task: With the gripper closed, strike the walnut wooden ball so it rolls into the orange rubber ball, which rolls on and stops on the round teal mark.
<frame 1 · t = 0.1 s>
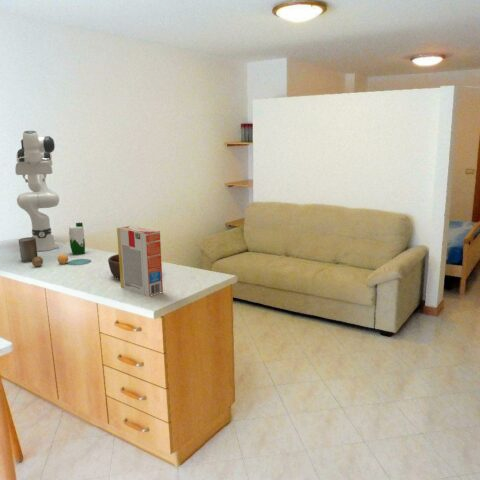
hand: (35, 182, 274), 48 cm above the counter, tool pointing down, fingers open, 8 cm apart
teal mark: (79, 262, 276), on the counter
cereal box: (141, 290, 224), on the counter
orange ball: (63, 259, 272), on the counter
milk carton: (78, 253, 299), on the counter
walnut ball: (37, 261, 267), on the counter
wooden bowl: (133, 275, 248), on the counter
pillar candle: (29, 260, 282), on the counter
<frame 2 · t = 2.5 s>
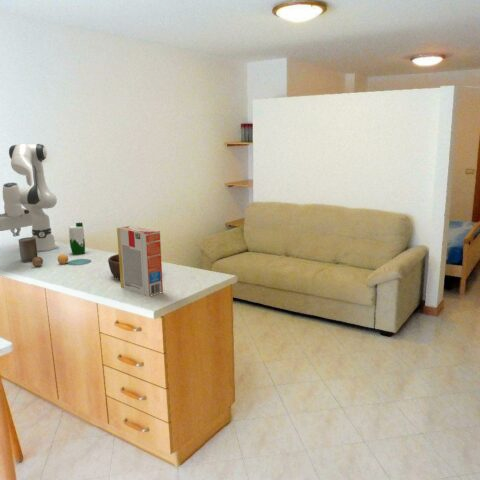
hand: (16, 236, 260), 19 cm above the counter, tool pointing down, fingers closed
nothing on the counter moved.
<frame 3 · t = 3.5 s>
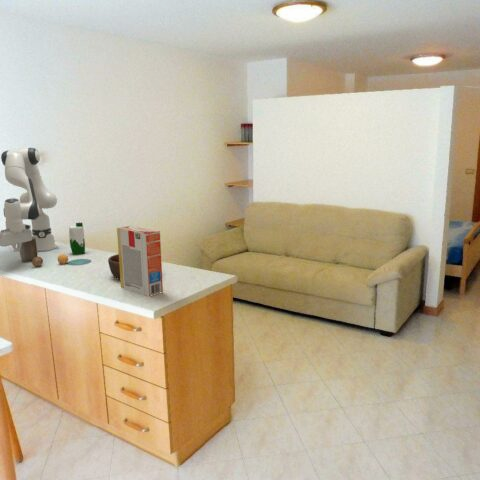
hand: (17, 251, 262), 10 cm above the counter, tool pointing down, fingers closed
nothing on the counter moved.
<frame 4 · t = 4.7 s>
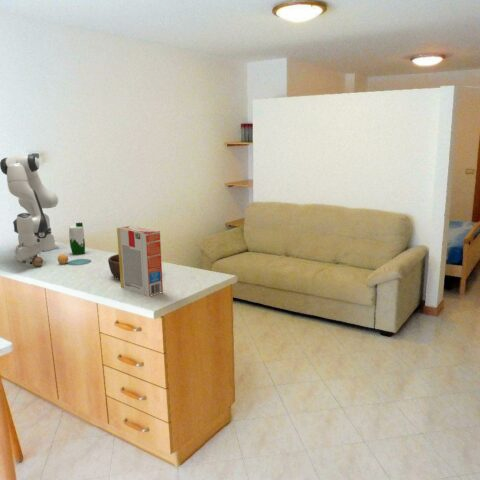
hand: (29, 264, 266), 1 cm above the counter, tool pointing down, fingers closed
walnut ball: (37, 261, 267), on the counter, touching gripper
everything else where it was.
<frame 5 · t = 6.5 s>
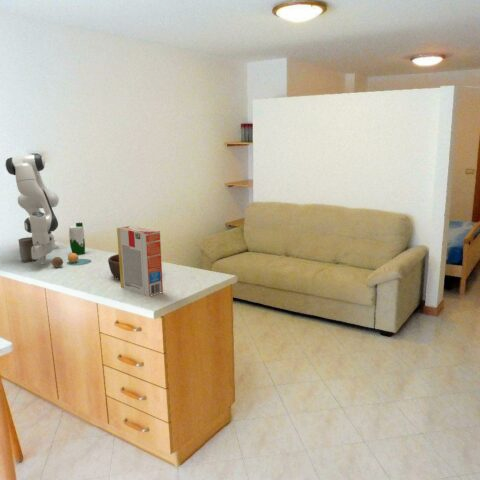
hand: (43, 263, 269), 2 cm above the counter, tool pointing down, fingers closed
orange ball: (73, 258, 274), on the counter
walnut ball: (57, 262, 265), on the counter
everything else where it was.
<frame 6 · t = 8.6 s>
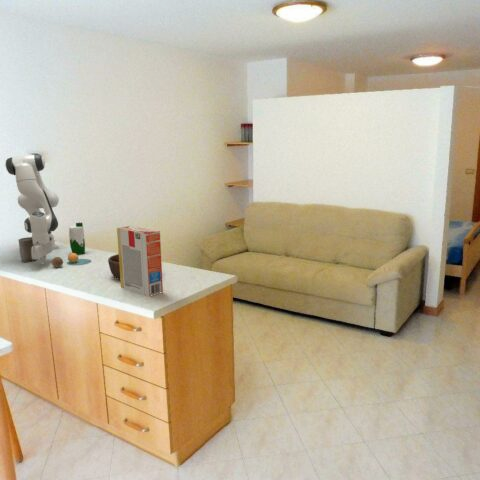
hand: (43, 263, 269), 2 cm above the counter, tool pointing down, fingers closed
nothing on the counter moved.
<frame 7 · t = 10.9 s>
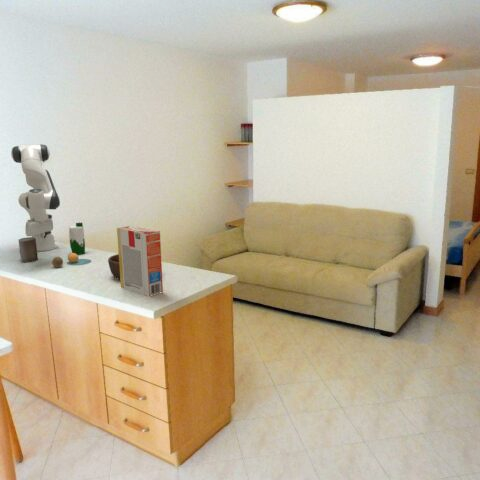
hand: (40, 240, 266), 15 cm above the counter, tool pointing down, fingers closed
nothing on the counter moved.
at the end: orange ball 3.3 cm from the teal mark (horizontally); orange ball never touched the robot; walnut ball first touched orange ball at 5.1 s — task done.
